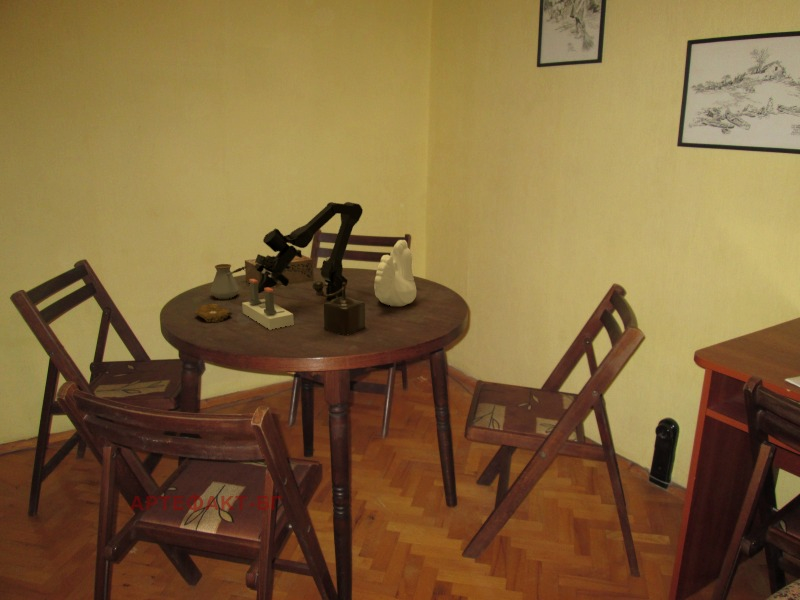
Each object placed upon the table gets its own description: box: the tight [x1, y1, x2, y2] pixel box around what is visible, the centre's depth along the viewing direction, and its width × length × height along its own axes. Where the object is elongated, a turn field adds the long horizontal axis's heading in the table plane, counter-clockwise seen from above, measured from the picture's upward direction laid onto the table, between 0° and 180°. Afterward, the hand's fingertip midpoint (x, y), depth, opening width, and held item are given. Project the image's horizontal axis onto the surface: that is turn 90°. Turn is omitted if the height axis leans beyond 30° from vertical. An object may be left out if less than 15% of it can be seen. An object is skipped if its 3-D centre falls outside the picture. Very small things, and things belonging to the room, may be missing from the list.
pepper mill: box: [311, 280, 366, 336], centre depth 205 cm, size 16×11×18 cm
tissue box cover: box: [244, 254, 315, 288], centre depth 268 cm, size 26×14×10 cm, turn 125°
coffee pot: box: [209, 263, 249, 300], centre depth 240 cm, size 21×12×15 cm, turn 51°
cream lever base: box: [241, 298, 295, 331], centre depth 218 cm, size 9×23×4 cm, turn 37°
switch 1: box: [248, 279, 261, 305], centre depth 221 cm, size 3×4×9 cm
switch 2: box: [264, 287, 276, 315], centre depth 210 cm, size 3×4×9 cm
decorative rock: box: [194, 303, 233, 323], centre depth 221 cm, size 11×4×15 cm
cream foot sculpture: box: [373, 239, 417, 307], centre depth 232 cm, size 25×16×25 cm, turn 143°
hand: (257, 292), depth 222 cm, fingers closed, pressing on switch 1
